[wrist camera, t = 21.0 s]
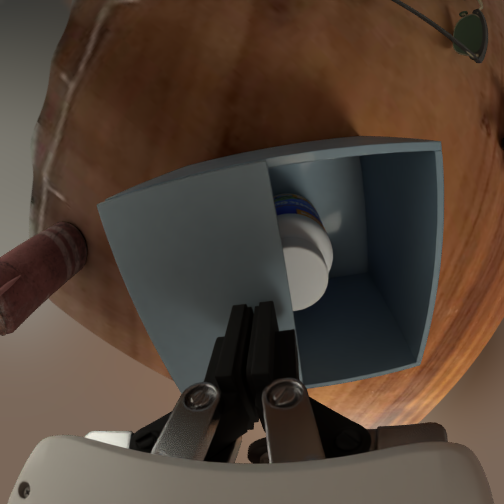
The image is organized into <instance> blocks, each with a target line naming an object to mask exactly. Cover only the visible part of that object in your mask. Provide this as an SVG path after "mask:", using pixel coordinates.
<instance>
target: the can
mask: <svg viewBox="0 0 504 504" xmlns="http://www.w3.org/2000/svg"><path fill="white" fill-rule="evenodd" d="M86 258H87V246H86V243H85V240H84V238H83V236H82V234H81V233H80V231H79V230H78V229H77V228H76V227H74V226H73V225H72V224H69V223H65V222H59V223H56V224H55V225H53V226H51V227H49V228H47V229H46V230H44V231H42V232H40V233H39V234H37V235H35V236H33V237H32V238H30V239H28V240H27V241H25V242H23V243H22V244H20V245H18V246H17V247H15V248H14V249H12V250H11V251H9V252H7V253H6V254H4V255H3V256H1V257H0V335H2V336H3V335H6V334H9V333H13V332H14V331H15V330H16V329H17V328H18V327H19V326H20V325H21V324H22V323H23V322H24V321H25V320H26V319H27V318H28V317H29V316H30V315H31V314H32V313H33V312H34V311H35V310H36V309H37V308H38V307H39V306H40V305H41V304H42V303H43V302H45V301H46V300H47V299H48V298H49V297H50V296H51V295H52V294H53V293H54V292H56V291H57V290H58V289H59V288H60V287H61V286H62V285H63V284H65V283H66V282H67V281H68V280H69V279H70V278H71V277H73V276H74V275H75V274H76V273H77V272H79V271H80V270H81V269H82V268H83V266H84V265H85V262H86Z"/></svg>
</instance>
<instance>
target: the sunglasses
mask: <svg viewBox="0 0 504 504" xmlns="http://www.w3.org/2000/svg"><path fill="white" fill-rule="evenodd" d="M392 1H393V2H395V3H397V4H399V5H400V6H402V7H404V8H406V9H407V10H409V11H410V12H412V13H414V14H415V15H417V16H418V17H420V18H421V19H423V20H424V21H426V22H427V23H428V24H430V25H431V26H433V27H434V28H435V29H437V30H438V31H439V32H441V33H442V34H443V35H445V36H446V37H447V38H449V39H450V40H451V41H452V42H453V48H454V50H455V51H456V52H457V53H459V54H461V55H465V56H469V57H470V59H472V60H474V61H475V62H476V63H482V61H483V59H484V57H485V54H486V50H487V44H488V28H487V23H486V20H485V17H484V15H483V13H482V12H481V11H480V9H482V8H483V4H482V1H481V0H478V2H479V4H480V8H479V9H476V10H474V11H473V14H470V15H467V14H468V12H467V11H463V12H461V13H460V14H459V15H460V17H463V18H461V19H460V20H459V21H458V22H457V24H456V26H455V28H454V33H453V36H452V35H451V34H449V33H448V32H447V31H445V30H444V29H443V28H441V27H440V26H439V25H437V24H436V23H434V22H433V21H431V20H430V19H429V18H427V17H426V16H424V15H422V14H421V13H419V12H418V11H416V10H415V9H413V8H411V7H410V6H408V5H406V4H405V3H403V2H401V1H399V0H392ZM465 15H466V16H465ZM464 16H465V17H464Z"/></svg>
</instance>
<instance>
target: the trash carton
mask: <svg viewBox="0 0 504 504" xmlns="http://www.w3.org/2000/svg"><path fill="white" fill-rule="evenodd" d="M441 150H442V148H441V142H440V141H433V140H423V139H412V138H398V137H378V136H354V137H343V138H334V139H325V140H317V141H310V142H302V143H296V144H289V145H283V146H277V147H271V148H266V149H260V150H255V151H250V152H245V153H240V154H235V155H230V156H226V157H221V158H217V159H213V160H208V161H204V162H200V163H196V164H192V165H188V166H185V167H182V168H180V169H177V170H174V171H172V172H169V173H166V174H164V175H161V176H159V177H156V178H154V179H151V180H149V181H146V182H144V183H141V184H139V185H137V186H134V187H132V188H130V189H127V190H125V191H123V192H120V193H118V194H116V195H114V196H111V197H109V198H107V199H105V201H108V200H111V199H114V198H117V197H120V196H123V195H126V194H129V193H133V192H136V191H139V190H143V189H146V188H150V187H153V186H157V185H160V184H164V183H167V182H171V181H175V180H179V179H183V178H187V177H191V176H195V175H199V174H203V173H207V172H212V171H216V170H220V169H225V168H230V167H234V166H239V165H244V164H249V163H254V162H260V161H266V162H267V166H268V171H269V176H270V182H271V187H272V192H273V197H274V196H276V195H279V194H284V193H291V194H296V195H299V196H302V197H304V198H305V199H307V200H308V201H309V202H310V203H311V204H312V205H313V206H314V208H315V209H316V211H317V213H318V215H319V217H320V219H321V221H322V224H323V226H324V228H325V230H326V232H327V234H328V237H329V239H330V241H331V245H332V249H333V261H332V266H331V269H330V271H329V273H328V285H327V288H326V290H325V292H324V294H323V295H322V297H321V298H320V299H319V300H318V301H317V302H316V303H314V304H313V305H311V306H309V307H307V308H305V309H302V310H297V311H293V314H294V321H295V328H296V335H297V341H298V349H299V356H300V363H301V370H302V378H303V384H304V385H305V387H306V389H308V388H315V387H322V386H329V385H335V384H341V383H347V382H352V381H357V380H362V379H367V378H372V377H376V376H381V375H385V374H389V373H393V372H397V371H401V370H404V369H408V368H412V367H415V366H419V365H420V364H421V360H422V357H423V353H424V350H425V346H426V342H427V338H428V334H429V329H430V325H431V320H432V315H433V310H434V305H435V299H436V293H437V287H438V280H439V272H440V264H441V254H442V242H443V224H444V177H443V160H442V151H441Z"/></svg>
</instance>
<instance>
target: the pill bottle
mask: <svg viewBox="0 0 504 504" xmlns="http://www.w3.org/2000/svg"><path fill="white" fill-rule="evenodd" d="M274 202H275V208H276V213H277V219H278V224H279V230H280V235H281V241H282V247H283V253H284V258H285V264H286V270H287V276H288V283H289V289H290V295H291V301H292V308H293V311H297V310H302V309H305V308H307V307H309V306H311V305H313V304H314V303H316V302H317V301H318V300H319V299H320V298H321V297H322V295H323V294H324V292H325V290H326V288H327V285H328V273H329V271H330V269H331V266H332V261H333V249H332V245H331V241H330V239H329V237H328V234H327V232H326V230H325V228H324V226H323V224H322V221H321V219H320V217H319V215H318V213H317V211H316V209H315V208H314V206H313V205H312V204H311V203H310V202H309V201H308V200H307V199H305V198H304V197H302V196H299V195H296V194H291V193H284V194H279V195H276V196H274Z"/></svg>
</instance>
